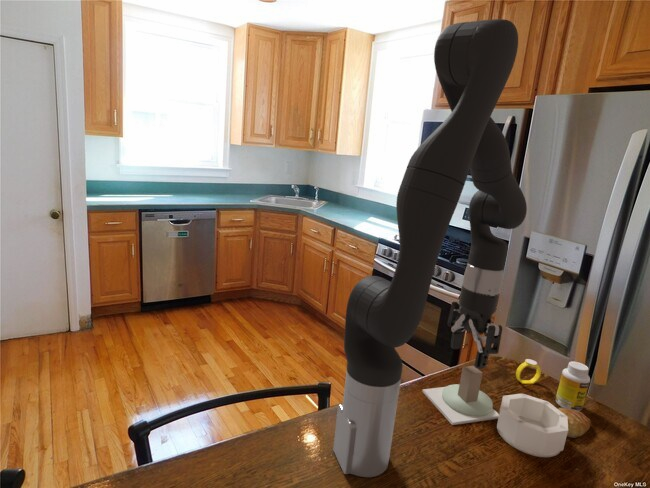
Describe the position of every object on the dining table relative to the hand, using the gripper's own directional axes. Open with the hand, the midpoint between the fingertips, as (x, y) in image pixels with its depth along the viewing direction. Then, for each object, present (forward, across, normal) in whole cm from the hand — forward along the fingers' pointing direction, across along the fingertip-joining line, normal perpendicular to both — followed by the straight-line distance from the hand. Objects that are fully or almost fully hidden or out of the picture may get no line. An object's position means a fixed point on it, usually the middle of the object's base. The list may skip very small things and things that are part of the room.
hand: (466, 357), depth 92 cm
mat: (+12, 0, +1) cm, 12 cm away
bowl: (+11, +12, +8) cm, 19 cm away
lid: (+11, 0, +2) cm, 11 cm away
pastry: (+12, +11, +20) cm, 25 cm away
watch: (+11, -5, +24) cm, 27 cm away
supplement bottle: (+11, +5, +27) cm, 29 cm away
